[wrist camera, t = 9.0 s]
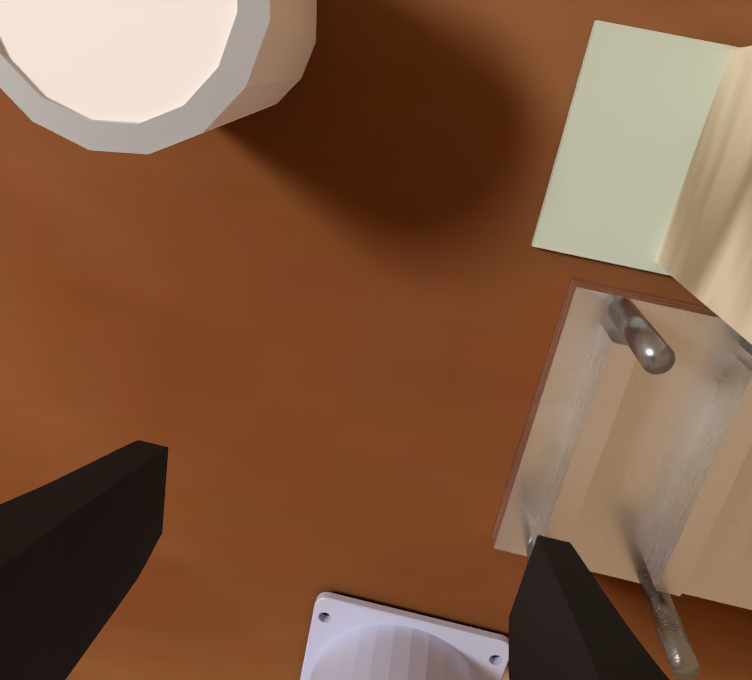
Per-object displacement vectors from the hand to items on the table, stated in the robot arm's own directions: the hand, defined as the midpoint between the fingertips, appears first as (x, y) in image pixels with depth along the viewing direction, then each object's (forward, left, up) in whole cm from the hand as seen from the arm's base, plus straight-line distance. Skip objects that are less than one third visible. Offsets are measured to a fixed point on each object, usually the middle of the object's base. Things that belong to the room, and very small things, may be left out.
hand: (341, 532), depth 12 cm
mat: (+7, -9, -10) cm, 15 cm away
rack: (-2, -13, -10) cm, 17 cm away
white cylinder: (+9, +7, -11) cm, 16 cm away
